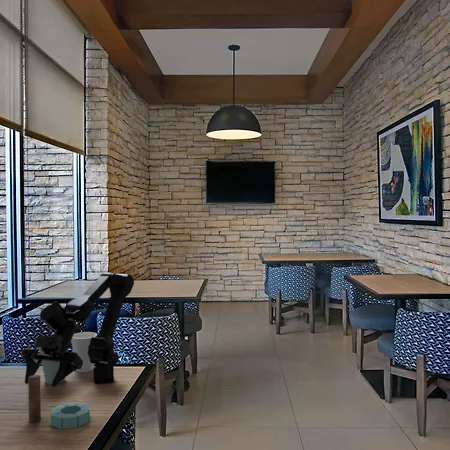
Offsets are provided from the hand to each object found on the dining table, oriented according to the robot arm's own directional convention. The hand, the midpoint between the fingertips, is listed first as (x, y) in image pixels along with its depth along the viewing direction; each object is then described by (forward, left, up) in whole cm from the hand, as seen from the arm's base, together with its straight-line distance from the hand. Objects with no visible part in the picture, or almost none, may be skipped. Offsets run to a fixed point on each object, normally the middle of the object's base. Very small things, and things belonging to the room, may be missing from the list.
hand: (39, 385), depth 137 cm
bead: (-9, +5, -9) cm, 14 cm away
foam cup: (-12, -39, -10) cm, 42 cm away
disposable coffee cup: (-2, -29, -10) cm, 31 cm away
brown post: (+1, +2, -9) cm, 10 cm away
